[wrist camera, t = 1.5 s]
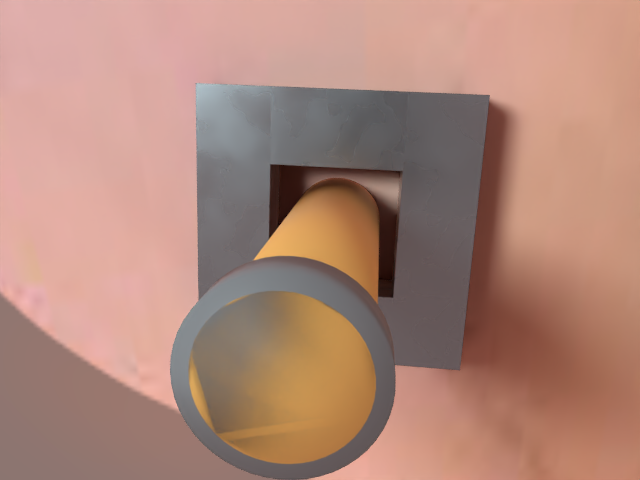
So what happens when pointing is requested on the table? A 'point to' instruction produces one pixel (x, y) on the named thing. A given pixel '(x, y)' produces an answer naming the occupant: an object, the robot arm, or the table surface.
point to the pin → (293, 345)
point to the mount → (358, 153)
